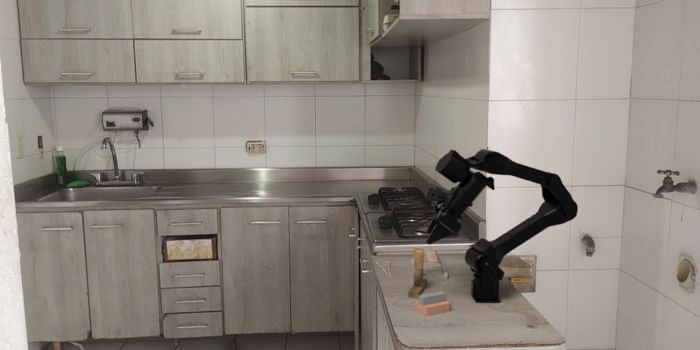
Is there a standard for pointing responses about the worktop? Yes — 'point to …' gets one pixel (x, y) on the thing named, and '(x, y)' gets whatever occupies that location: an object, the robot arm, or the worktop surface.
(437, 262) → the packaged product
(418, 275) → the wooden stamp
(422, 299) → the fulcrum stand
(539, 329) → the worktop surface
